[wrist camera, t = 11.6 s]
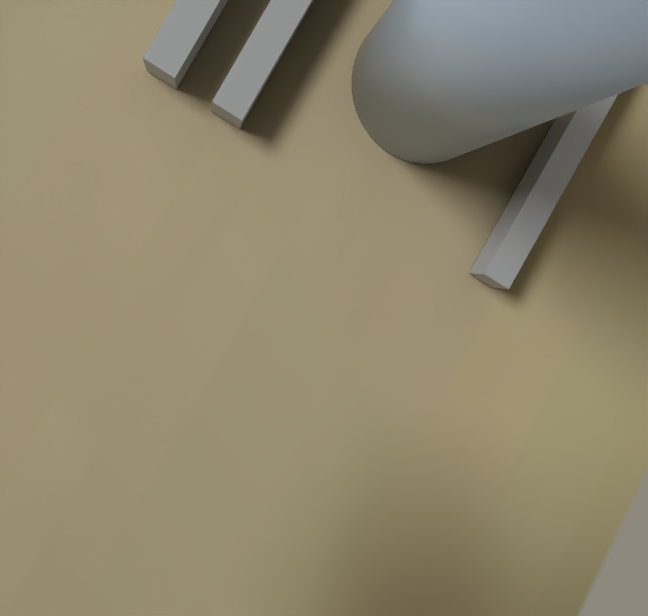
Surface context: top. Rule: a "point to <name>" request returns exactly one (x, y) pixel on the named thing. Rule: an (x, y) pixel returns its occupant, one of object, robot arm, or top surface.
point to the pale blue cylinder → (491, 69)
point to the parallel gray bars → (265, 52)
